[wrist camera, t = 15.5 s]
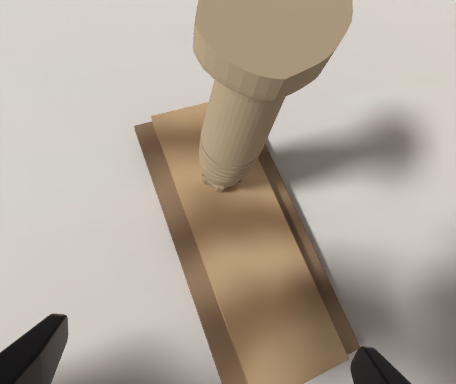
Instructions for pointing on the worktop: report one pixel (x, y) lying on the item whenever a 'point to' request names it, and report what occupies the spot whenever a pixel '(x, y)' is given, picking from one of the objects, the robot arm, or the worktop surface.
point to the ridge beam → (245, 262)
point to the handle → (257, 71)
